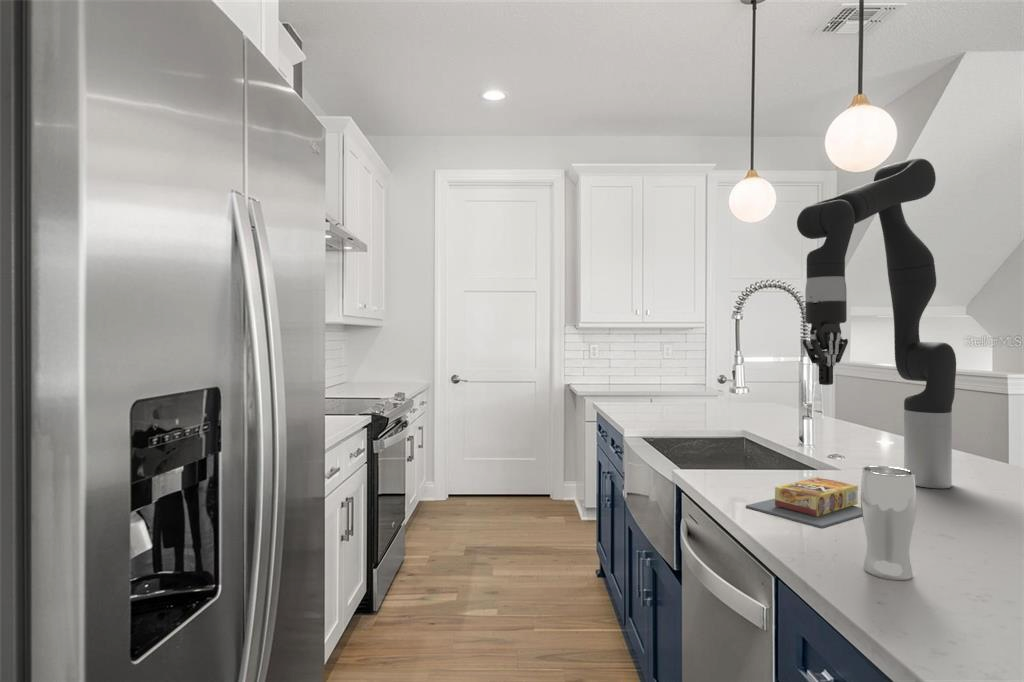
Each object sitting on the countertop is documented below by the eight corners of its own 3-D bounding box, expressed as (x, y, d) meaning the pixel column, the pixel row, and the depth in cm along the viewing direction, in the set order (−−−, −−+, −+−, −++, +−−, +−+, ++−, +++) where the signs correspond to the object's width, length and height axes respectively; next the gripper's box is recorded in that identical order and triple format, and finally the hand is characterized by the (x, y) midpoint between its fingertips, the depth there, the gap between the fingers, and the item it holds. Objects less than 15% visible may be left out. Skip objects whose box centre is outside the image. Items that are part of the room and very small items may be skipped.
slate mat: (797, 494, 133) (797, 492, 133) (873, 512, 119) (873, 510, 119) (745, 507, 123) (745, 505, 123) (822, 527, 110) (822, 525, 110)
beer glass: (850, 564, 92) (850, 466, 92) (893, 562, 93) (893, 465, 93) (881, 582, 85) (881, 476, 85) (928, 581, 86) (928, 475, 86)
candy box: (858, 484, 123) (816, 495, 115) (858, 505, 123) (816, 517, 115) (816, 476, 130) (774, 485, 122) (816, 496, 130) (774, 506, 122)
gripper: (826, 301, 131) (826, 382, 131) (789, 300, 124) (789, 385, 124) (861, 300, 125) (861, 384, 125) (825, 298, 118) (825, 387, 118)
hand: (825, 384), depth 125 cm, fingers closed
